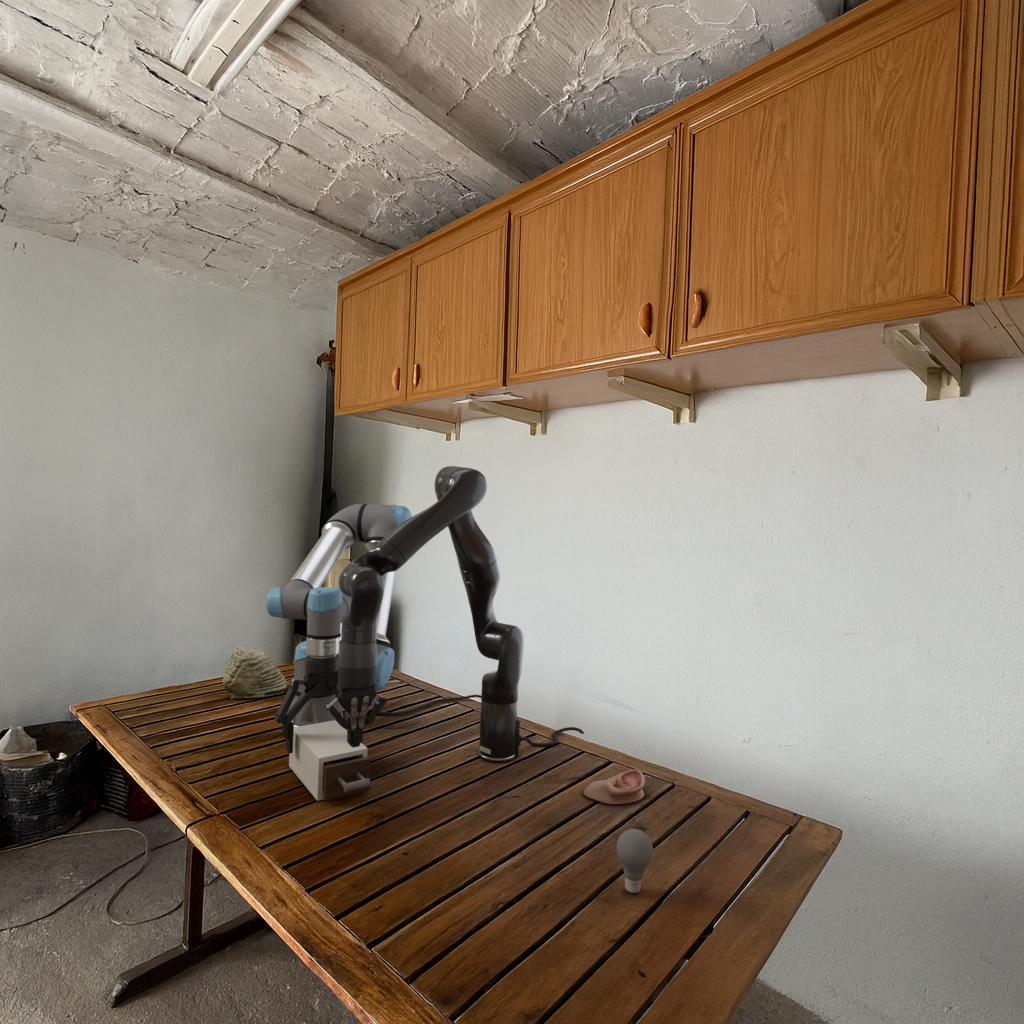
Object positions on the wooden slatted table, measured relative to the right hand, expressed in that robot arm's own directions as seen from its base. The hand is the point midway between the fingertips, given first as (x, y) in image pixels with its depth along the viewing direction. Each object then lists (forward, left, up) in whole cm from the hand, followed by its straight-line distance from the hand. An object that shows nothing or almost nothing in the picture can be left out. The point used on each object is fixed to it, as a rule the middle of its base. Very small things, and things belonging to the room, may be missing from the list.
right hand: (354, 745), depth 130 cm
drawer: (+2, -9, -11) cm, 15 cm away
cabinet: (+3, -15, -12) cm, 20 cm away
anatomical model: (-55, +12, -12) cm, 58 cm away
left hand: (+5, -20, -7) cm, 22 cm away
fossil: (+17, -81, -12) cm, 84 cm away
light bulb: (-39, +44, -12) cm, 60 cm away
